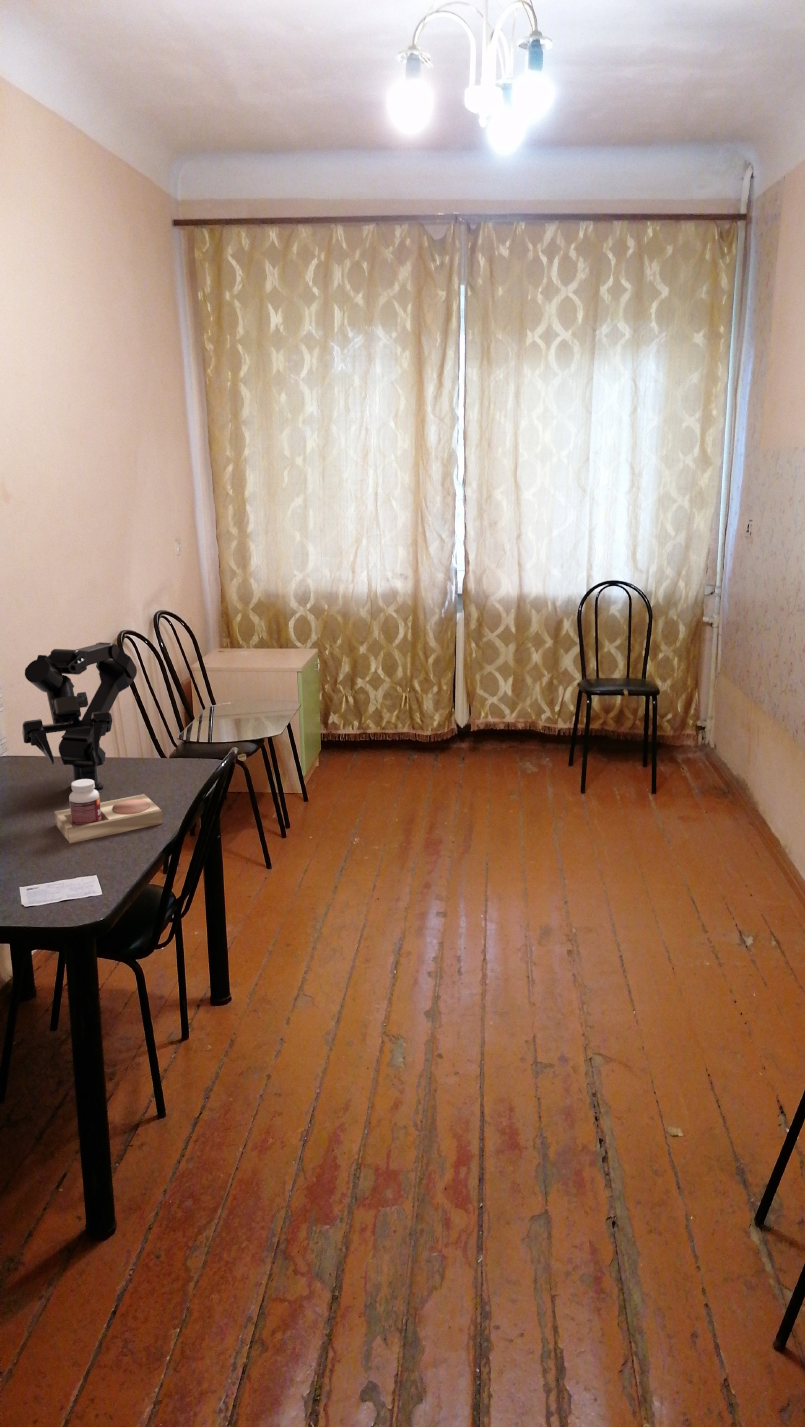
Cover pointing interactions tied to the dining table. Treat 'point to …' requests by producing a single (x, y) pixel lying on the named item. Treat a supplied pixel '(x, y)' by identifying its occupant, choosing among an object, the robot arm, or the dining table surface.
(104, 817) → the board
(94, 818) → the pill bottle
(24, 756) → the dining table surface
